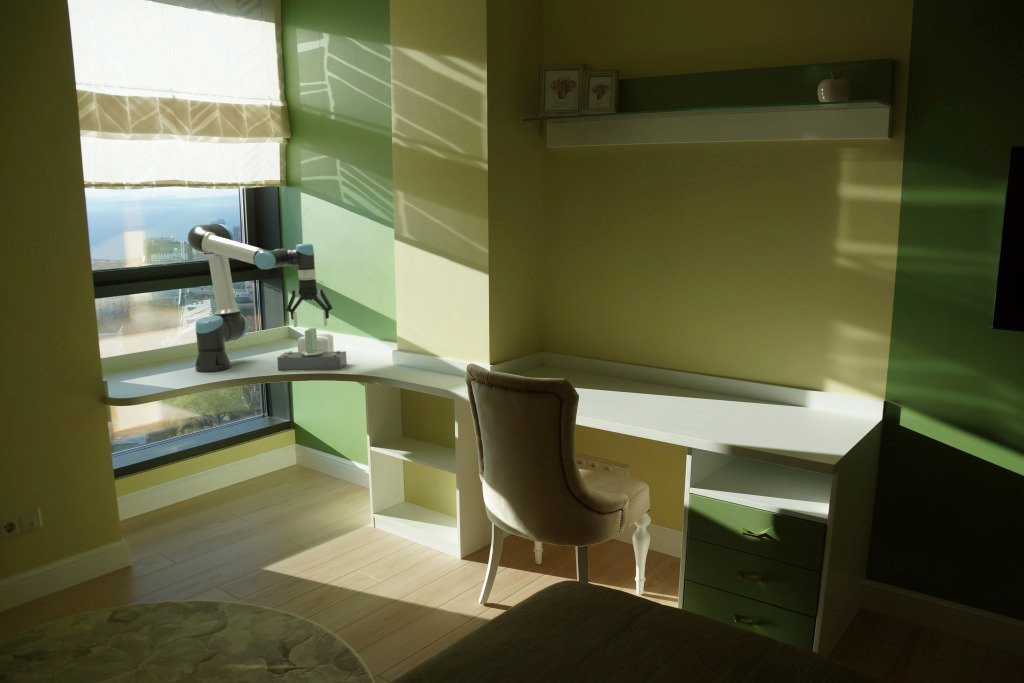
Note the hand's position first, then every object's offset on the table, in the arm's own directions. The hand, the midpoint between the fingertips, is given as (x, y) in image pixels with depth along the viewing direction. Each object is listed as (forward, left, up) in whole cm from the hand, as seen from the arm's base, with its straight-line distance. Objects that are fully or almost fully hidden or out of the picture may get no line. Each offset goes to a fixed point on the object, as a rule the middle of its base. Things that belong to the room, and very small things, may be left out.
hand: (310, 326), depth 372 cm
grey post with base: (0, 0, -19) cm, 19 cm away
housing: (0, 0, -19) cm, 19 cm away
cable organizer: (-3, +19, -19) cm, 27 cm away
